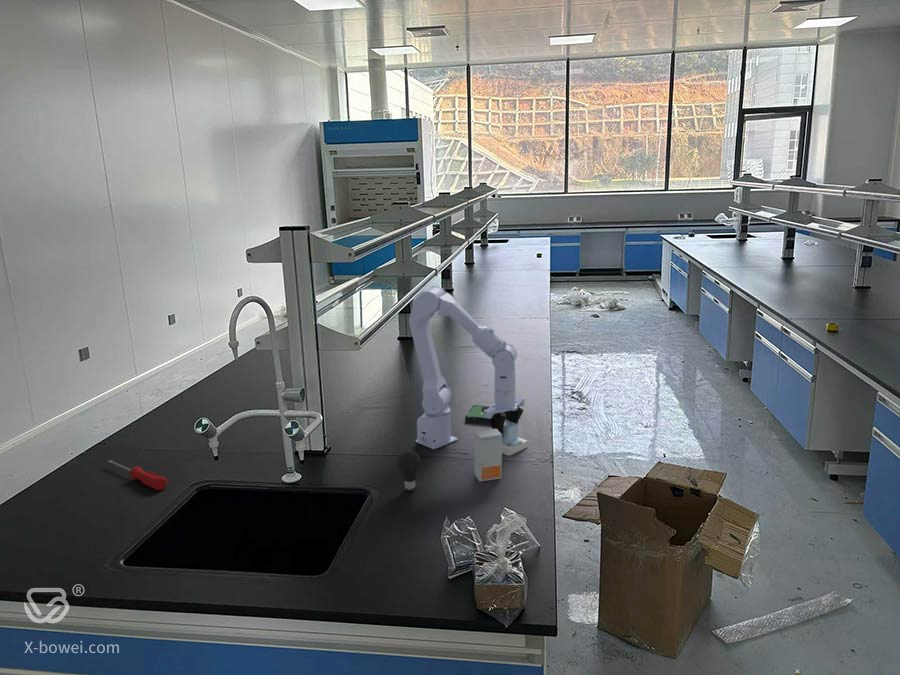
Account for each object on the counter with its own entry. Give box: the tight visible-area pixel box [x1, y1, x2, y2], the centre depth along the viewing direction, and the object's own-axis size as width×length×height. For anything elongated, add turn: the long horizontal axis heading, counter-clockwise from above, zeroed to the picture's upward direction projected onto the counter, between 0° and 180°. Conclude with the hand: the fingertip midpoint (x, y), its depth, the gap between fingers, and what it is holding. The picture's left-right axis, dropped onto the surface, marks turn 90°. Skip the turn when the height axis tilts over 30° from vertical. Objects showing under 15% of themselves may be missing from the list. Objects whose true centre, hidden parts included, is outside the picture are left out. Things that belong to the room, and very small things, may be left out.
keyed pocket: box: [502, 436, 528, 457], centre depth 177 cm, size 8×10×2 cm
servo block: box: [502, 420, 522, 446], centre depth 177 cm, size 4×10×8 cm, turn 44°
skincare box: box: [473, 428, 503, 483], centre depth 158 cm, size 6×4×12 cm
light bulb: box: [397, 449, 422, 491], centre depth 153 cm, size 6×6×10 cm
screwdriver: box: [107, 460, 168, 491], centre depth 163 cm, size 4×25×4 cm, turn 55°
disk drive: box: [464, 404, 507, 426], centre depth 198 cm, size 10×3×15 cm
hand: (504, 435), depth 177 cm, fingers open, 5 cm apart
